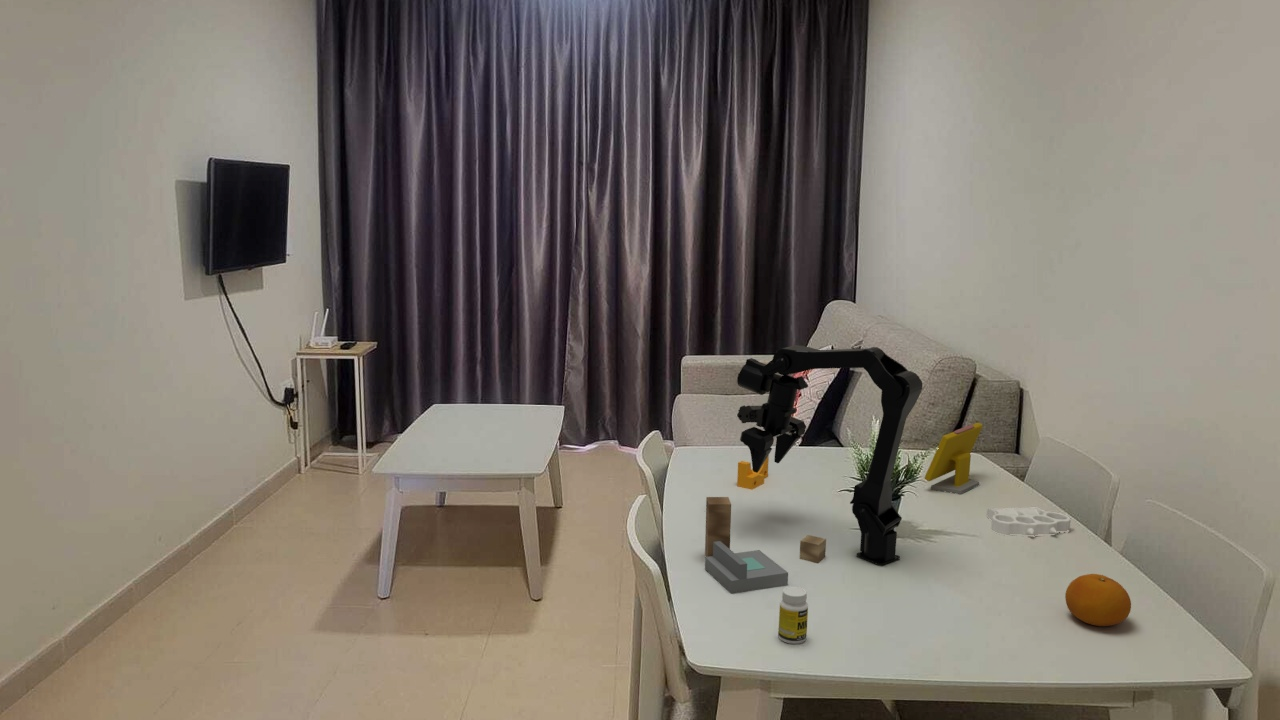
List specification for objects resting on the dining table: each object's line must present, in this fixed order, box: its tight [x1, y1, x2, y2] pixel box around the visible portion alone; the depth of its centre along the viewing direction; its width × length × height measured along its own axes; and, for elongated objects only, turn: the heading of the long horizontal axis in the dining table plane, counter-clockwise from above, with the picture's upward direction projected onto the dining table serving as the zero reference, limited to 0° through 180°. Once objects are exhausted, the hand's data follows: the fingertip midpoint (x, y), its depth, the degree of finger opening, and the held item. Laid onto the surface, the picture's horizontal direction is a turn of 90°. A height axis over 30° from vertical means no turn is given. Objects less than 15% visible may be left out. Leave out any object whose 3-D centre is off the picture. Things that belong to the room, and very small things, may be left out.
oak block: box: [799, 534, 827, 564], centre depth 191 cm, size 4×4×4 cm
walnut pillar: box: [704, 496, 732, 557], centre depth 189 cm, size 4×4×12 cm
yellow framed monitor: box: [924, 422, 984, 495], centre depth 238 cm, size 20×8×16 cm, turn 136°
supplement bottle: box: [777, 586, 809, 645], centre depth 156 cm, size 5×5×8 cm
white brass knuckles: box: [986, 506, 1071, 536], centre depth 210 cm, size 3×18×15 cm
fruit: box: [1064, 573, 1132, 627], centre depth 164 cm, size 10×10×8 cm
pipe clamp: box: [736, 454, 770, 491], centre depth 240 cm, size 12×4×6 cm, turn 145°
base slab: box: [704, 541, 789, 594], centre depth 181 cm, size 12×12×6 cm
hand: (766, 467), depth 205 cm, fingers open, 9 cm apart
